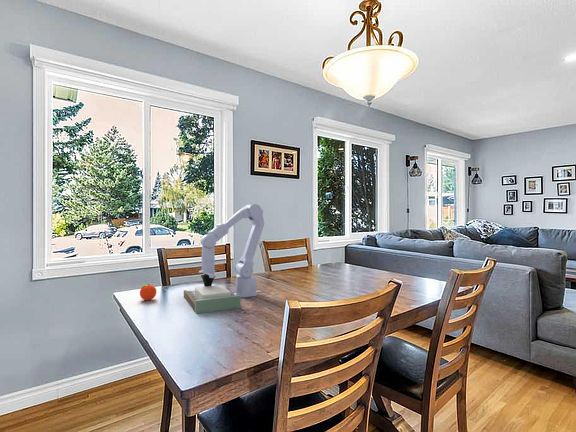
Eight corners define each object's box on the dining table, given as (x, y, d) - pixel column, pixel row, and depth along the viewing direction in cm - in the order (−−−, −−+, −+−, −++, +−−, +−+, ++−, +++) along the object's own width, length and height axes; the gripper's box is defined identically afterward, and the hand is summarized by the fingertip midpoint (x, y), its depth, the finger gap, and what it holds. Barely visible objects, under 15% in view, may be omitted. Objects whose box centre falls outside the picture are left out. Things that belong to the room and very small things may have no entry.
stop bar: (238, 306, 140) (238, 294, 140) (240, 307, 138) (240, 295, 138) (194, 312, 132) (195, 299, 131) (195, 313, 130) (196, 301, 130)
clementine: (136, 303, 142) (136, 286, 142) (137, 298, 149) (137, 283, 149) (156, 301, 145) (156, 285, 145) (156, 297, 152) (156, 282, 152)
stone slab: (221, 291, 152) (221, 284, 152) (230, 299, 140) (230, 292, 140) (195, 294, 146) (195, 287, 146) (202, 302, 134) (202, 295, 134)
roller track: (222, 292, 162) (222, 286, 162) (238, 306, 140) (238, 299, 140) (183, 296, 153) (183, 290, 153) (194, 311, 132) (194, 304, 132)
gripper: (195, 259, 155) (195, 287, 155) (203, 264, 142) (202, 295, 142) (210, 258, 158) (210, 286, 158) (219, 263, 145) (218, 293, 145)
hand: (207, 290), depth 150 cm, fingers closed
